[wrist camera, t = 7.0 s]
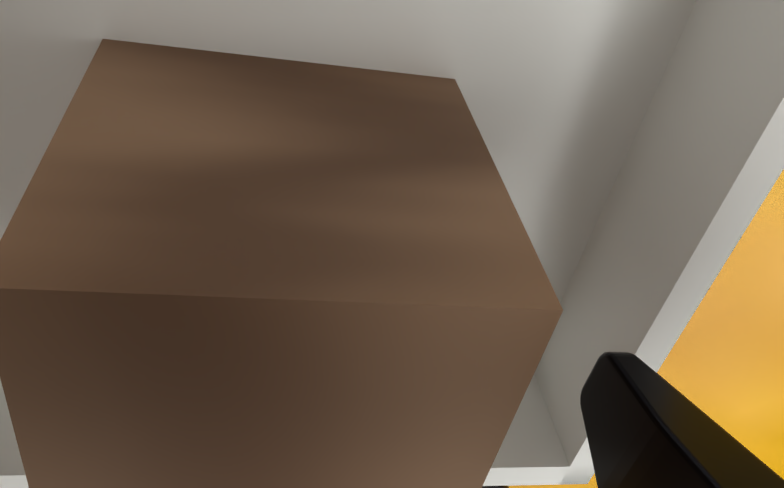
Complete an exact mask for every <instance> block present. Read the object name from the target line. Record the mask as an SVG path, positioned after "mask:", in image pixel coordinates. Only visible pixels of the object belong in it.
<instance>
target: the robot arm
mask: <svg viewBox="0 0 784 488" xmlns="http://www.w3.org/2000/svg"><path fill="white" fill-rule="evenodd" d="M580 405H581V411H582V416H583V420H584V425H585V430H586V434H587V439H588V444H589V448H590V453H591V458H592V462H593V467H594V472H595V476H596V481H597V486H598V488H784V480H783V479H782V478H781V477H780V476H779V475H778V474H776V473H775V472H774V471H773V470H772V469H770V468H769V467H768V466H767V465H766V464H764V463H763V462H762V461H761V460H760V459H759V458H757V457H756V456H755V455H754V454H753V453H751V452H750V451H749V450H748V449H747V448H745V447H744V446H743V445H742V444H741V443H739V442H738V441H737V440H736V439H735V438H734V437H732V436H731V435H730V434H729V433H728V432H726V431H725V430H724V429H723V428H722V427H720V426H719V425H718V424H717V423H716V422H715V421H713V420H712V419H711V418H710V417H709V416H707V415H706V414H705V413H704V412H703V411H701V410H700V409H699V408H698V407H697V406H696V405H694V404H693V403H692V402H691V401H690V400H688V399H687V398H686V397H685V396H684V395H682V394H681V393H680V392H679V391H678V390H677V389H675V388H674V387H673V386H672V385H671V384H669V383H668V382H667V381H666V380H665V379H663V378H662V377H661V376H660V375H659V374H657V373H656V372H655V371H654V370H653V369H652V368H650V367H649V366H648V365H647V364H646V363H644V362H643V361H642V360H641V359H640V358H638V357H637V356H636V355H634V354H632V353H629V352H604V353H603V354H602V355H600V356H599V358H598V360H597V361H596V363H595V365H594V367H593V369H592V371H591V373H590V375H589V376H588V378H587V380H586V382H585V384H584V386H583V388H582V391H581V395H580ZM482 488H509V487H508V486H482Z"/></svg>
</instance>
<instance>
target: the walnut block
mask: <svg viewBox="0 0 784 488" xmlns="http://www.w3.org/2000/svg"><path fill="white" fill-rule="evenodd" d="M562 312H563V309H562V306H561V304H560V302H559V300H558V298H557V296H556V294H555V292H554V289H553V287H552V285H551V283H550V281H549V279H548V277H547V274H546V272H545V270H544V268H543V266H542V264H541V262H540V260H539V257H538V255H537V253H536V251H535V249H534V247H533V245H532V242H531V240H530V238H529V236H528V234H527V232H526V230H525V228H524V225H523V223H522V221H521V219H520V217H519V215H518V213H517V210H516V208H515V206H514V204H513V202H512V200H511V198H510V195H509V193H508V191H507V189H506V187H505V185H504V183H503V181H502V178H501V176H500V174H499V172H498V170H497V168H496V166H495V163H494V161H493V159H492V157H491V155H490V153H489V151H488V149H487V146H486V144H485V142H484V140H483V138H482V136H481V134H480V131H479V129H478V127H477V125H476V123H475V121H474V119H473V117H472V114H471V112H470V110H469V108H468V106H467V104H466V102H465V99H464V97H463V95H462V93H461V91H460V89H459V87H458V85H457V82H456V80H455V79H450V78H441V77H433V76H424V75H415V74H407V73H398V72H389V71H381V70H372V69H363V68H354V67H346V66H337V65H328V64H320V63H311V62H302V61H293V60H285V59H276V58H267V57H259V56H250V55H241V54H232V53H224V52H215V51H206V50H198V49H189V48H180V47H171V46H163V45H154V44H145V43H137V42H128V41H119V40H110V39H102V41H101V43H100V45H99V47H98V49H97V51H96V53H95V55H94V57H93V59H92V61H91V63H90V65H89V67H88V69H87V71H86V72H85V74H84V76H83V78H82V80H81V82H80V84H79V86H78V88H77V90H76V92H75V94H74V96H73V98H72V100H71V102H70V104H69V106H68V108H67V110H66V112H65V114H64V116H63V118H62V120H61V122H60V124H59V126H58V128H57V130H56V132H55V134H54V136H53V138H52V140H51V142H50V143H49V145H48V147H47V149H46V151H45V153H44V155H43V157H42V159H41V161H40V163H39V165H38V167H37V169H36V171H35V173H34V175H33V177H32V179H31V181H30V183H29V185H28V187H27V189H26V191H25V193H24V195H23V197H22V199H21V201H20V203H19V205H18V207H17V209H16V211H15V212H14V214H13V216H12V218H11V220H10V222H9V224H8V226H7V228H6V230H5V232H4V234H3V236H2V238H1V240H0V379H1V383H2V387H3V391H4V394H5V398H6V402H7V406H8V410H9V414H10V417H11V421H12V425H13V429H14V433H15V437H16V440H17V444H18V448H19V452H20V456H21V459H22V463H23V467H24V471H25V475H26V479H27V482H28V486H29V488H482V486H483V484H484V482H485V479H486V477H487V475H488V473H489V471H490V469H491V466H492V464H493V462H494V460H495V458H496V455H497V453H498V451H499V449H500V447H501V445H502V442H503V440H504V438H505V436H506V434H507V432H508V429H509V427H510V425H511V423H512V421H513V419H514V416H515V414H516V412H517V410H518V408H519V405H520V403H521V401H522V399H523V397H524V395H525V392H526V390H527V388H528V386H529V384H530V382H531V379H532V377H533V375H534V373H535V371H536V369H537V366H538V364H539V362H540V360H541V358H542V355H543V353H544V351H545V349H546V347H547V345H548V342H549V340H550V338H551V336H552V334H553V332H554V329H555V327H556V325H557V323H558V321H559V319H560V316H561V314H562Z"/></svg>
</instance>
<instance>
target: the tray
mask: <svg viewBox="0 0 784 488" xmlns="http://www.w3.org/2000/svg"><path fill="white" fill-rule="evenodd" d="M102 39H110V40H119V41H128V42H137V43H145V44H154V45H163V46H171V47H180V48H189V49H198V50H206V51H215V52H224V53H232V54H241V55H250V56H259V57H267V58H276V59H285V60H293V61H302V62H311V63H320V64H328V65H337V66H346V67H354V68H363V69H372V70H381V71H389V72H398V73H407V74H415V75H424V76H433V77H441V78H450V79H455V80H456V82H457V85H458V87H459V89H460V91H461V93H462V95H463V97H464V99H465V102H466V104H467V106H468V108H469V110H470V112H471V114H472V117H473V119H474V121H475V123H476V125H477V127H478V129H479V131H480V134H481V136H482V138H483V140H484V142H485V144H486V146H487V149H488V151H489V153H490V155H491V157H492V159H493V161H494V163H495V166H496V168H497V170H498V172H499V174H500V176H501V178H502V181H503V183H504V185H505V187H506V189H507V191H508V193H509V195H510V198H511V200H512V202H513V204H514V206H515V208H516V210H517V213H518V215H519V217H520V219H521V221H522V223H523V225H524V228H525V230H526V232H527V234H528V236H529V238H530V240H531V242H532V245H533V247H534V249H535V251H536V253H537V255H538V257H539V260H540V262H541V264H542V266H543V268H544V270H545V272H546V274H547V277H548V279H549V281H550V283H551V285H552V287H553V289H554V292H555V294H556V296H557V298H558V300H559V302H560V304H561V306H562V309H563V312H562V314H561V316H560V319H559V321H558V323H557V325H556V327H555V329H554V332H553V334H552V336H551V338H550V340H549V342H548V345H547V347H546V349H545V351H544V353H543V355H542V358H541V360H540V362H539V364H538V366H537V369H536V371H535V373H534V375H533V377H532V379H531V382H530V384H529V386H528V388H527V390H526V392H525V395H524V397H523V399H522V401H521V403H520V405H519V408H518V410H517V412H516V414H515V416H514V419H513V421H512V423H511V425H510V427H509V429H508V432H507V434H506V436H505V438H504V440H503V442H502V445H501V447H500V449H499V451H498V453H497V455H496V458H495V460H494V462H493V464H492V466H491V469H490V471H489V473H488V475H487V477H486V479H485V482H484V484H483V486H510V485H556V484H588V482H589V481H590V479H591V477H592V476H593V474H594V473H595V472H594V467H593V462H592V458H591V453H590V448H589V444H588V439H587V434H586V430H585V425H584V420H583V416H582V411H581V405H580V395H581V391H582V388H583V386H584V384H585V382H586V380H587V378H588V376H589V375H590V373H591V371H592V369H593V367H594V365H595V363H596V361H597V360H598V358H599V356H600V355H602V354H603V353H604V352H629V353H632V354H634V355H636V356H637V357H638V358H640V359H641V360H642V361H643V362H644V363H646V364H647V365H648V366H649V367H650V368H652V369H653V370H654V371H655V372H656V373H657V371H658V370H659V368H660V367H661V365H662V363H663V362H664V360H665V359H666V357H667V355H668V354H669V352H670V351H671V349H672V347H673V346H674V344H675V342H676V341H677V339H678V338H679V336H680V334H681V333H682V331H683V330H684V328H685V326H686V325H687V323H688V322H689V320H690V318H691V317H692V315H693V314H694V312H695V310H696V309H697V307H698V306H699V304H700V302H701V301H702V299H703V298H704V296H705V294H706V293H707V291H708V289H709V288H710V286H711V285H712V283H713V281H714V280H715V278H716V277H717V275H718V273H719V272H720V270H721V269H722V267H723V265H724V264H725V262H726V261H727V259H728V257H729V256H730V254H731V253H732V251H733V249H734V248H735V246H736V245H737V243H738V241H739V240H740V238H741V236H742V235H743V233H744V232H745V230H746V228H747V227H748V225H749V224H750V222H751V220H752V219H753V217H754V216H755V214H756V212H757V211H758V209H759V208H760V206H761V204H762V203H763V201H764V200H765V198H766V196H767V195H768V193H769V191H770V190H771V188H772V187H773V185H774V183H775V182H776V180H777V179H778V177H779V175H780V174H781V172H782V171H783V169H784V0H0V240H1V238H2V236H3V234H4V232H5V230H6V228H7V226H8V224H9V222H10V220H11V218H12V216H13V214H14V212H15V211H16V209H17V207H18V205H19V203H20V201H21V199H22V197H23V195H24V193H25V191H26V189H27V187H28V185H29V183H30V181H31V179H32V177H33V175H34V173H35V171H36V169H37V167H38V165H39V163H40V161H41V159H42V157H43V155H44V153H45V151H46V149H47V147H48V145H49V143H50V142H51V140H52V138H53V136H54V134H55V132H56V130H57V128H58V126H59V124H60V122H61V120H62V118H63V116H64V114H65V112H66V110H67V108H68V106H69V104H70V102H71V100H72V98H73V96H74V94H75V92H76V90H77V88H78V86H79V84H80V82H81V80H82V78H83V76H84V74H85V72H86V71H87V69H88V67H89V65H90V63H91V61H92V59H93V57H94V55H95V53H96V51H97V49H98V47H99V45H100V43H101V41H102ZM0 488H29V486H28V482H27V479H26V475H25V471H24V467H23V463H22V459H21V456H20V452H19V448H18V444H17V440H16V437H15V433H14V429H13V425H12V421H11V417H10V414H9V410H8V406H7V402H6V398H5V394H4V391H3V387H2V383H1V379H0Z"/></svg>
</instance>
